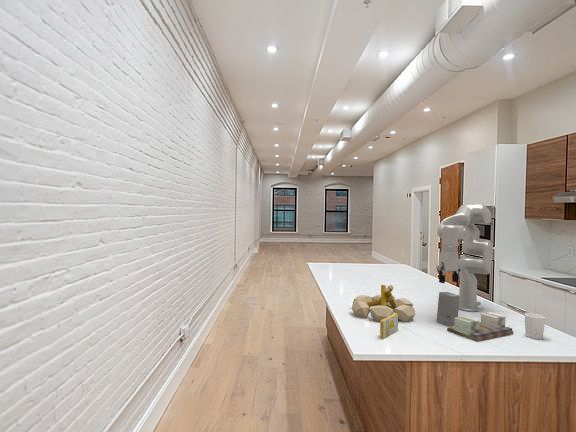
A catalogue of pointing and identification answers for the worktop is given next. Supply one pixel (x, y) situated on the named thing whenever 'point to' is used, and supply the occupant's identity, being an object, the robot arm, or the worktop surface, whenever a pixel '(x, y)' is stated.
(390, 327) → the candy box
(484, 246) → the robot arm
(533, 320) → the white cup
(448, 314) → the skincare box
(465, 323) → the board
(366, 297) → the campfire
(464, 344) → the worktop surface
